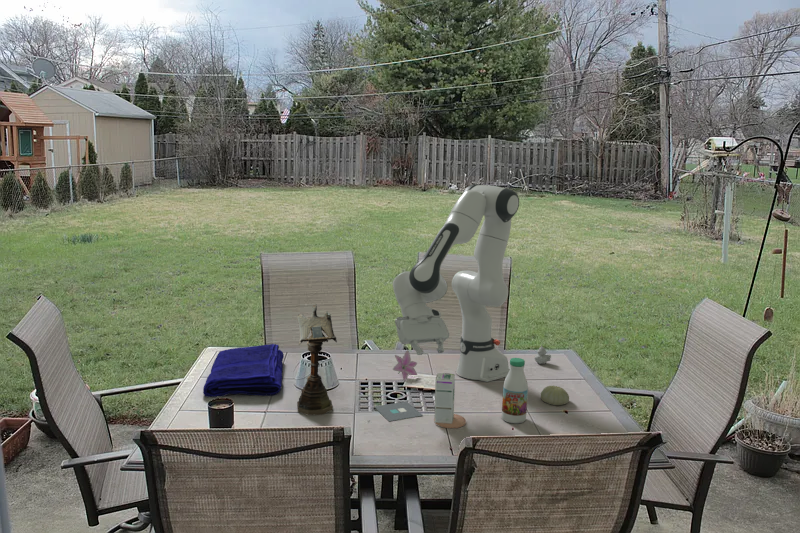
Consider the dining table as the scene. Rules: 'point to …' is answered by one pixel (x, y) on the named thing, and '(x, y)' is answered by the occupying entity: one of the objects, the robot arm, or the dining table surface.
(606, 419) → the dining table surface
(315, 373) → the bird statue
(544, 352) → the grey figurine
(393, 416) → the tile
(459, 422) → the coaster
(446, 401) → the syrup box
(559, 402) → the sea urchin shell
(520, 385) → the milk bottle
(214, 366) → the towel
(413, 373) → the lily
